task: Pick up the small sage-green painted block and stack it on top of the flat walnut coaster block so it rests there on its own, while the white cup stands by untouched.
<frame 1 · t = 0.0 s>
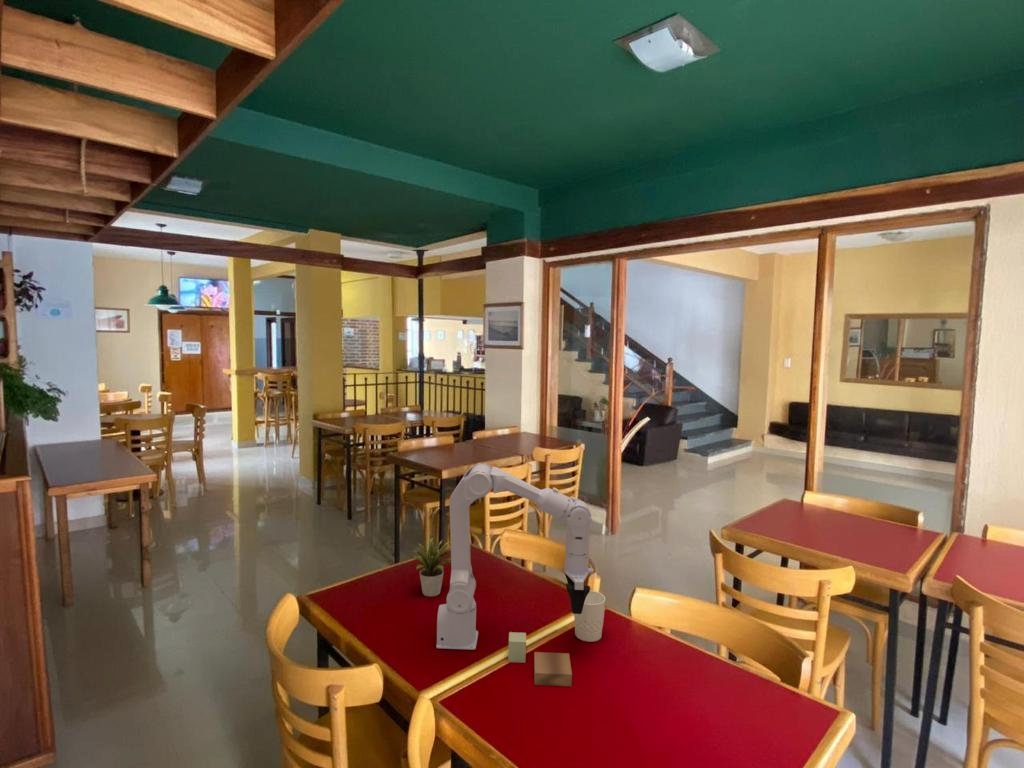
hand: (575, 605, 130), 10 cm above the table, fingers open, 7 cm apart
walnut base: (552, 675, 119), on the table
white cup: (588, 635, 136), on the table
green block: (516, 657, 125), on the table
house plant: (430, 595, 156), on the table
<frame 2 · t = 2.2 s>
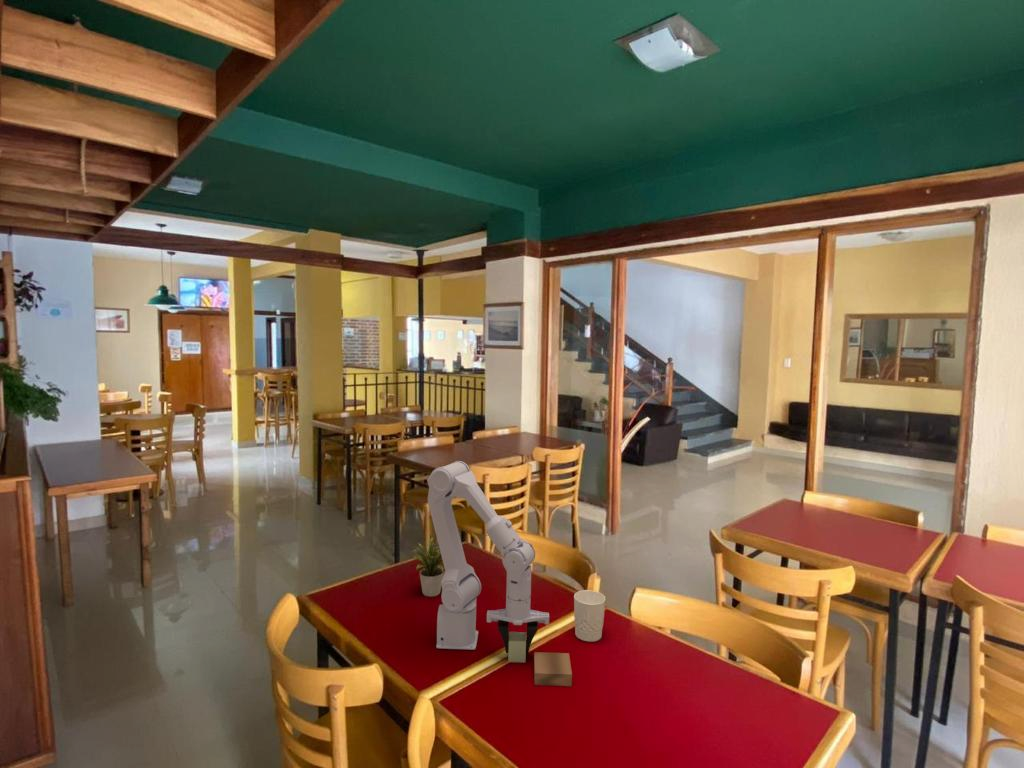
hand: (517, 651, 125), 1 cm above the table, fingers closed on green block, 4 cm apart
green block: (516, 657, 125), on the table, touching gripper
everything else where it was.
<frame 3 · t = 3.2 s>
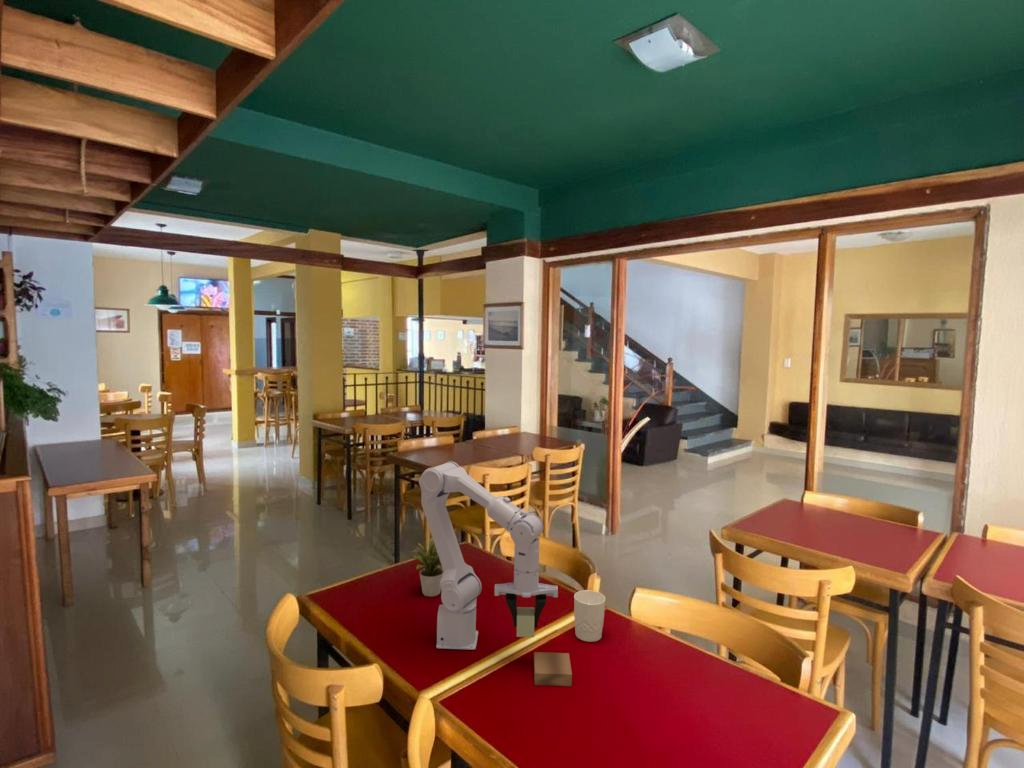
hand: (525, 625, 123), 9 cm above the table, fingers closed on green block, 4 cm apart
green block: (525, 632, 123), point 7 cm above the table, touching gripper
everything else where it was.
when the fingers open (6 cm above the table, at t = 4.5 s): green block drops 1 cm, resting on walnut base.
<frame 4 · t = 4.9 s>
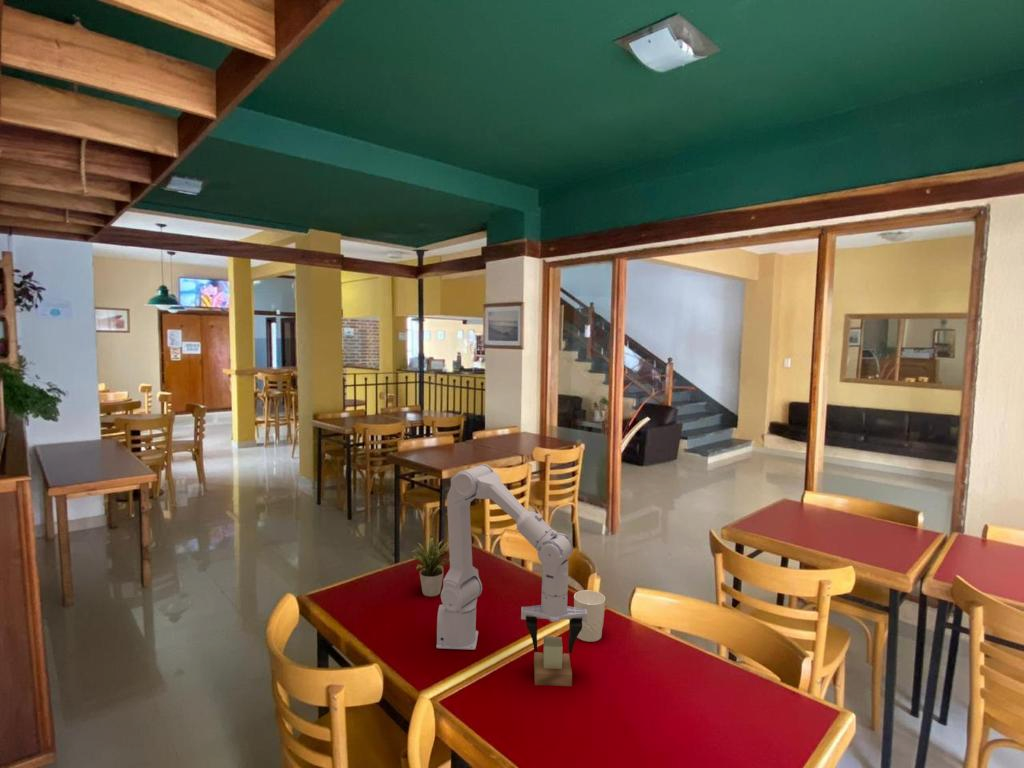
hand: (552, 649, 119), 6 cm above the table, fingers open, 7 cm apart
walnut base: (552, 676, 119), on the table, touching green block
green block: (552, 663, 119), point 3 cm above the table, touching walnut base
everything else where it was.
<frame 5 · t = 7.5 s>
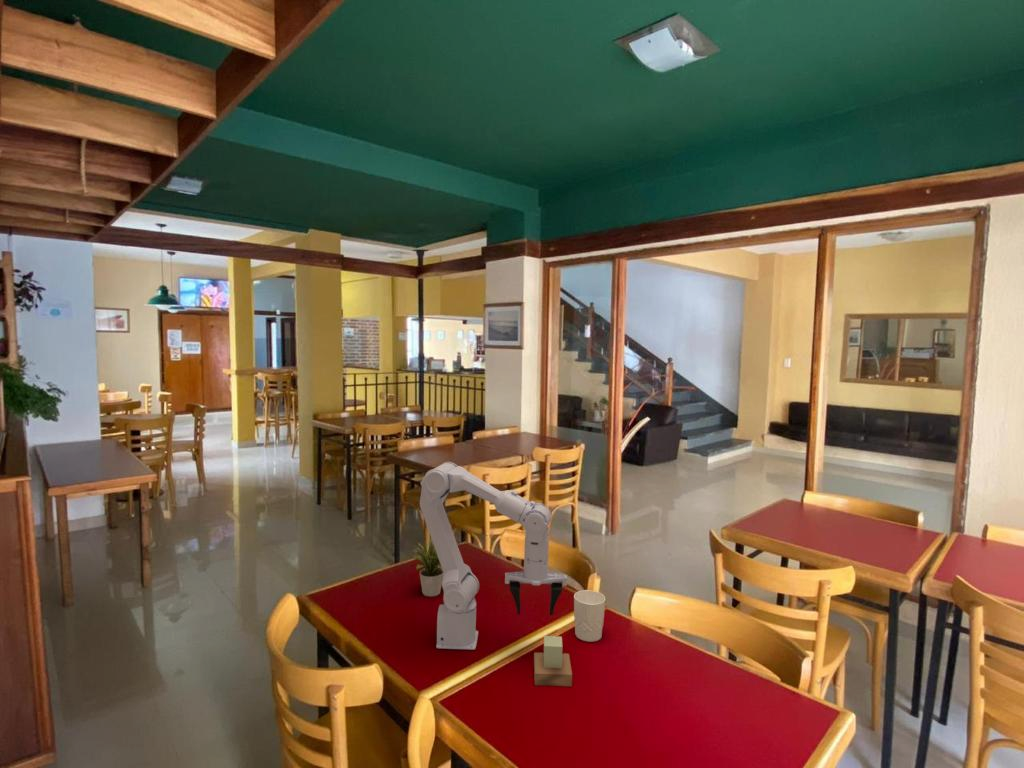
hand: (534, 612, 126), 10 cm above the table, fingers open, 7 cm apart
nothing on the table moved.
at the end: green block 0.1 cm off-centre on the walnut base, point 3.0 cm above the walnut base's base; green block tilted 1°; the gripper is holding nothing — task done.
